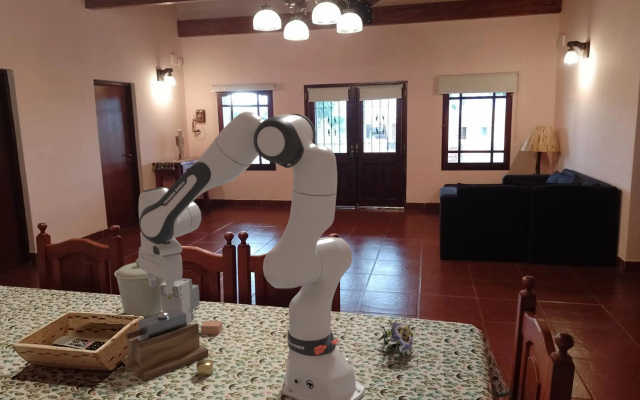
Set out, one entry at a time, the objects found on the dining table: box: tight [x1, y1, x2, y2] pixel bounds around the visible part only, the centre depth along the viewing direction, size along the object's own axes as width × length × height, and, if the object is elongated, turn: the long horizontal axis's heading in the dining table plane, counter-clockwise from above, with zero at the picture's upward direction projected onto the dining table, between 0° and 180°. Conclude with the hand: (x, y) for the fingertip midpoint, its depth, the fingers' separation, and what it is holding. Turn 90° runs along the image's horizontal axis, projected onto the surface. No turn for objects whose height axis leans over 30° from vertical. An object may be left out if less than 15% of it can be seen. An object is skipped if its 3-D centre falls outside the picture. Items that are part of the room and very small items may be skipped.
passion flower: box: [377, 319, 414, 357], centre depth 146 cm, size 11×11×12 cm
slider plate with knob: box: [136, 309, 191, 342], centre depth 141 cm, size 16×6×6 cm, turn 135°
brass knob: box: [196, 359, 214, 378], centre depth 134 cm, size 4×4×3 cm
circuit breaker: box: [160, 277, 200, 324], centre depth 170 cm, size 8×14×15 cm, turn 164°
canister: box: [114, 257, 165, 319], centre depth 175 cm, size 18×18×21 cm
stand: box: [122, 322, 209, 382], centre depth 142 cm, size 16×20×10 cm
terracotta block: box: [200, 320, 223, 335], centre depth 161 cm, size 6×4×3 cm, turn 85°
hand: (160, 289), depth 139 cm, fingers open, 8 cm apart
